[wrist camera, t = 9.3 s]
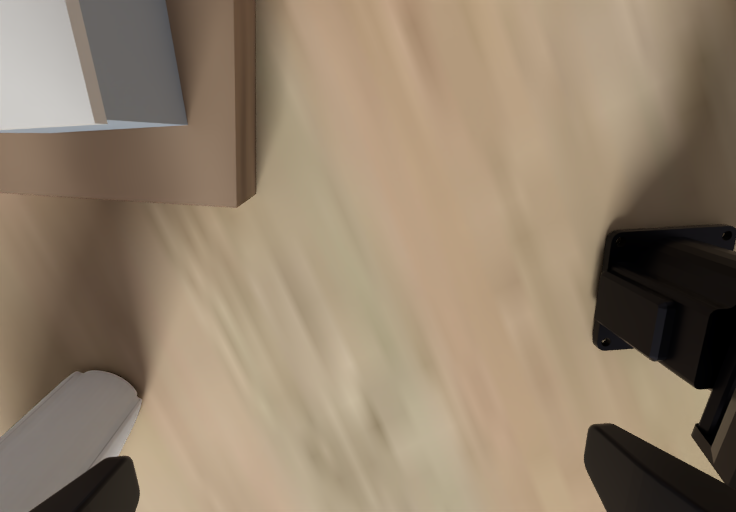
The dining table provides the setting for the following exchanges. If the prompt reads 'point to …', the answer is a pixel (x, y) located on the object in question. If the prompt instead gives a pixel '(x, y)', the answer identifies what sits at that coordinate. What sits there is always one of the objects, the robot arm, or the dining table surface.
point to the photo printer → (65, 437)
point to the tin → (87, 66)
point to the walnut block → (163, 144)
